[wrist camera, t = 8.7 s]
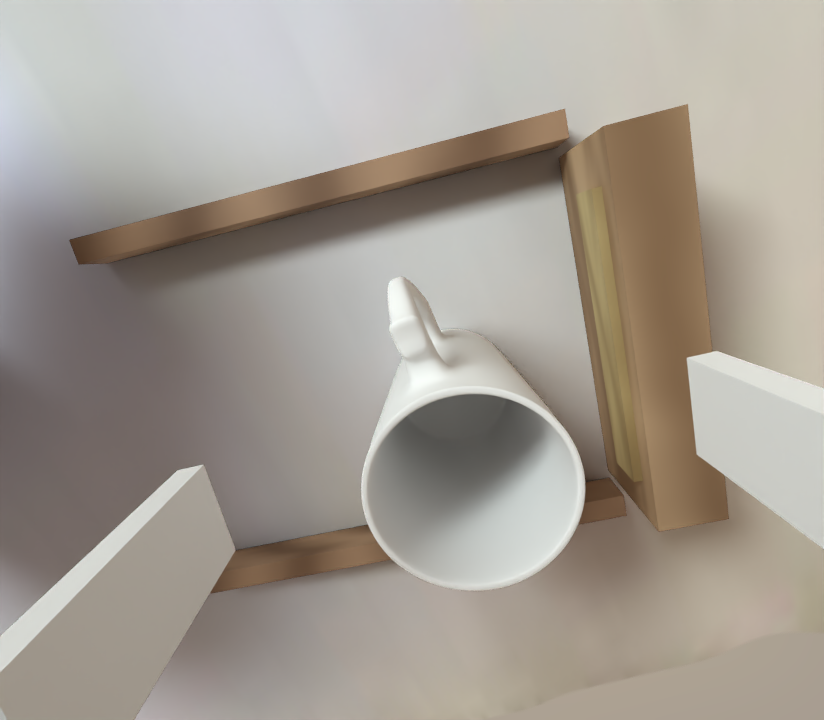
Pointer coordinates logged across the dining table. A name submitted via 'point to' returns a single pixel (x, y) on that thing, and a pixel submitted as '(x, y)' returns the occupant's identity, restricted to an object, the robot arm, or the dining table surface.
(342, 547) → the guide lane
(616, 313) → the end stop
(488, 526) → the mug
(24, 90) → the dining table surface
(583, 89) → the dining table surface
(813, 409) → the robot arm
